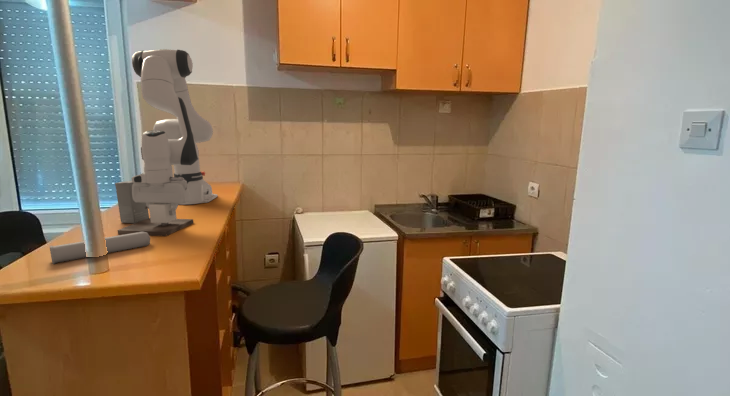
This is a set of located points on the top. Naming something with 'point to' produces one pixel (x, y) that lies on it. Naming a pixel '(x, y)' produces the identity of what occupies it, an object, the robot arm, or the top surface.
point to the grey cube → (161, 213)
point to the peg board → (156, 227)
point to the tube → (112, 244)
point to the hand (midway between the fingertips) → (163, 214)
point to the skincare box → (129, 204)
